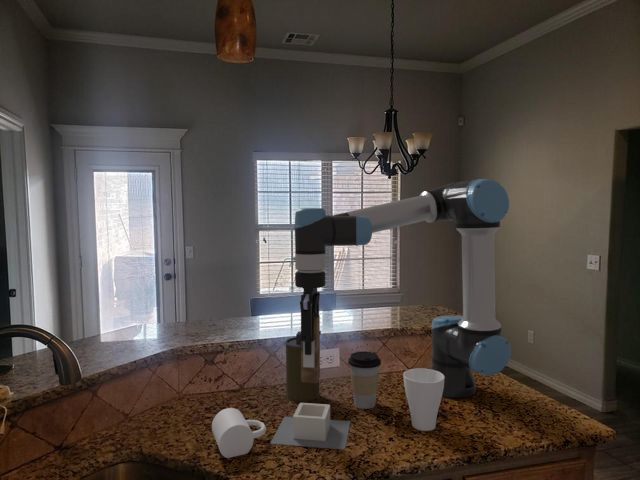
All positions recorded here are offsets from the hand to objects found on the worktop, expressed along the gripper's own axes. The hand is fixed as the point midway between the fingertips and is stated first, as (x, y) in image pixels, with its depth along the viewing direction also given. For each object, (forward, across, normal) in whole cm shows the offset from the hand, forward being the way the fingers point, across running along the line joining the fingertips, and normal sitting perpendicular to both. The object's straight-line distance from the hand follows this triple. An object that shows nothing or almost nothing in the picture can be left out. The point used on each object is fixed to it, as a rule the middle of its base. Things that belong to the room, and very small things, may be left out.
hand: (310, 363), depth 109 cm
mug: (+19, +8, -16) cm, 26 cm away
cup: (+18, -9, +28) cm, 35 cm away
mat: (+18, 0, 0) cm, 18 cm away
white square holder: (+18, 0, 0) cm, 18 cm away
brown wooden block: (+4, 0, 0) cm, 4 cm away
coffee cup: (+18, -18, +12) cm, 29 cm away
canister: (+19, -22, -7) cm, 30 cm away
